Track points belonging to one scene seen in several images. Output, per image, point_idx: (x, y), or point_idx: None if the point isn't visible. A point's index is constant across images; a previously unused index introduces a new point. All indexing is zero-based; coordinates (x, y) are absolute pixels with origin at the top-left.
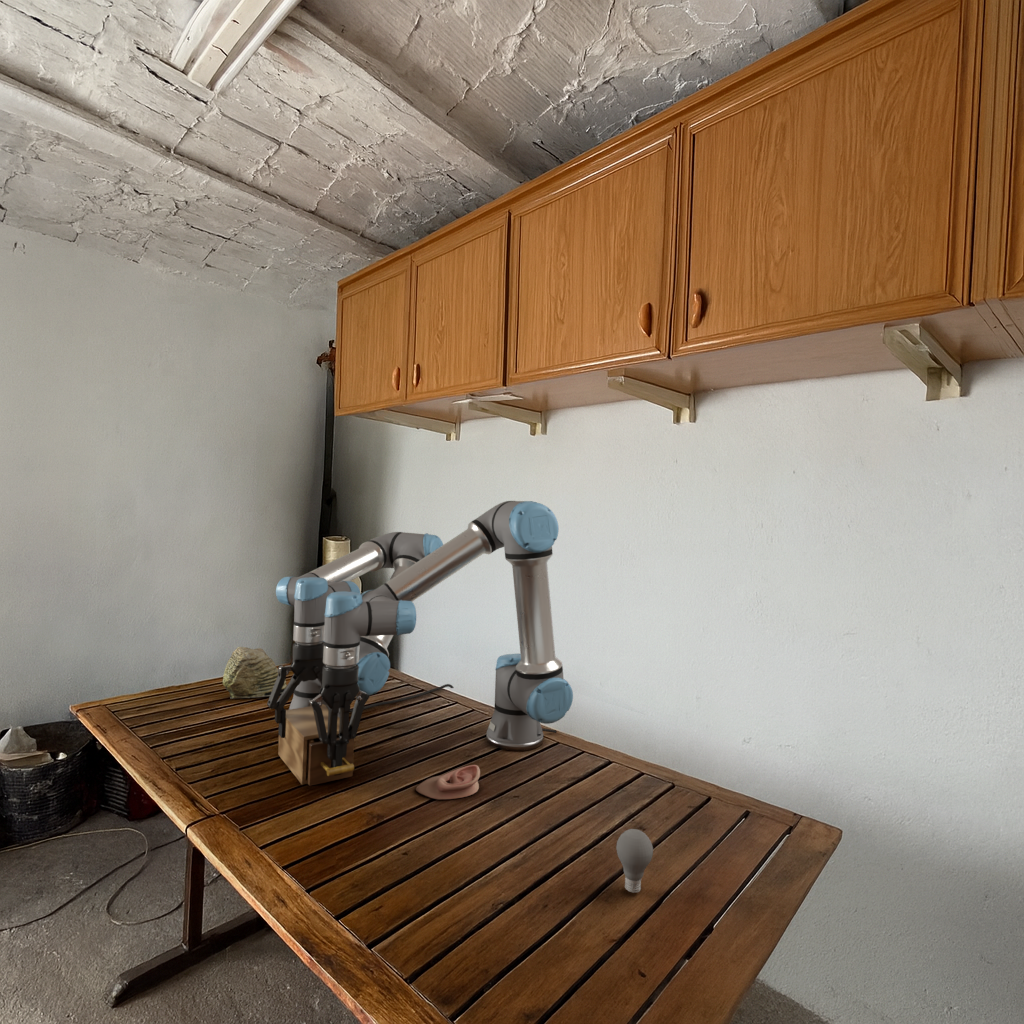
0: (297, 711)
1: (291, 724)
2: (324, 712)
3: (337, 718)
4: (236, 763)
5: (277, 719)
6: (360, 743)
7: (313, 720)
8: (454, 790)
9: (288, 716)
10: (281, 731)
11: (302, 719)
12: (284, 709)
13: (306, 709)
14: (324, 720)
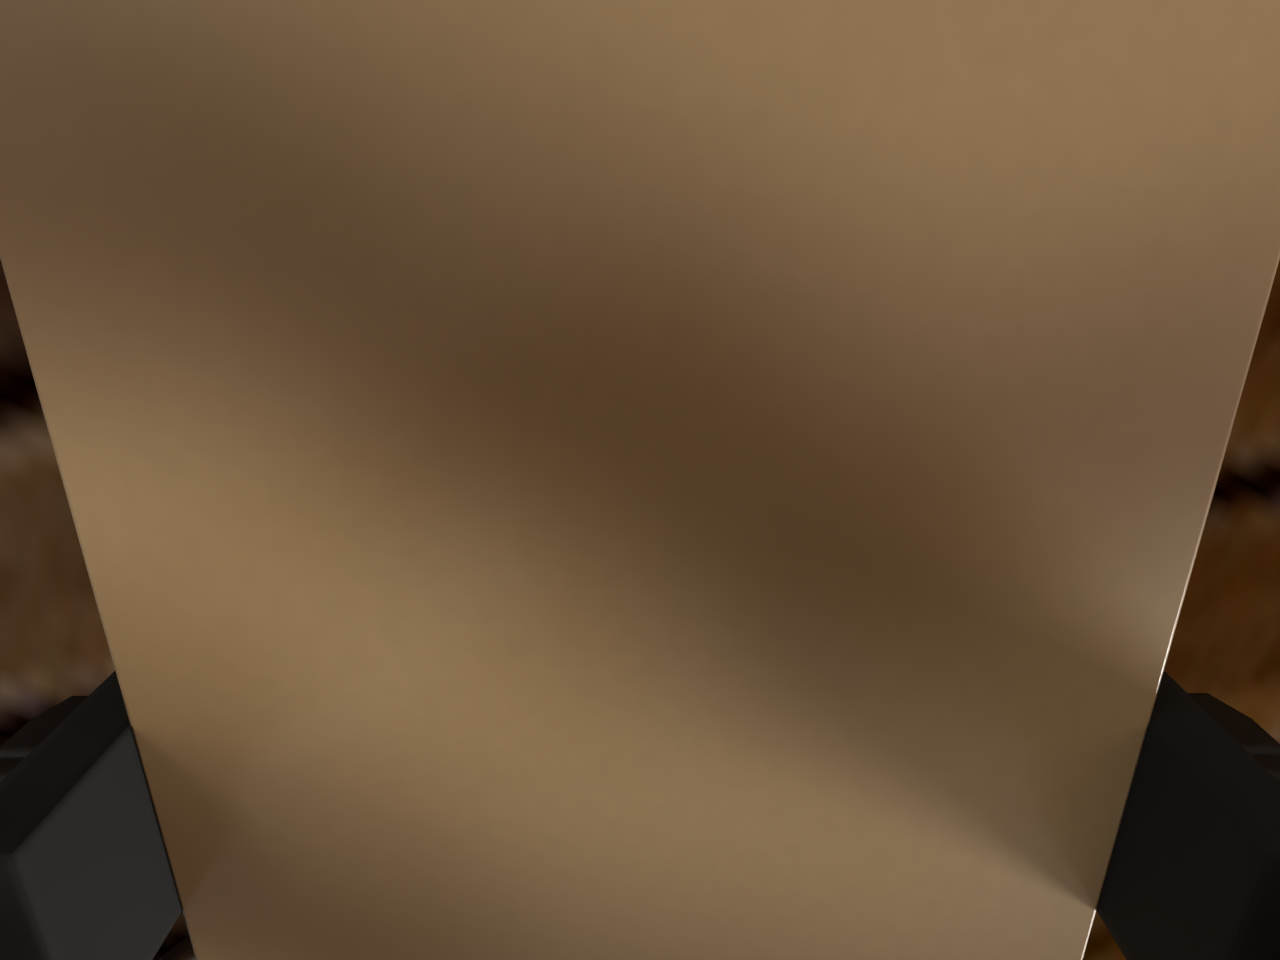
0: (793, 916)
1: (1264, 268)
2: (291, 649)
3: (16, 47)
4: (1231, 604)
5: (1262, 749)
6: (40, 512)
7: (697, 227)
8: None
9: (1076, 747)
10: None
11: (905, 443)
12: (1259, 912)
13: (598, 942)
14: (416, 80)
